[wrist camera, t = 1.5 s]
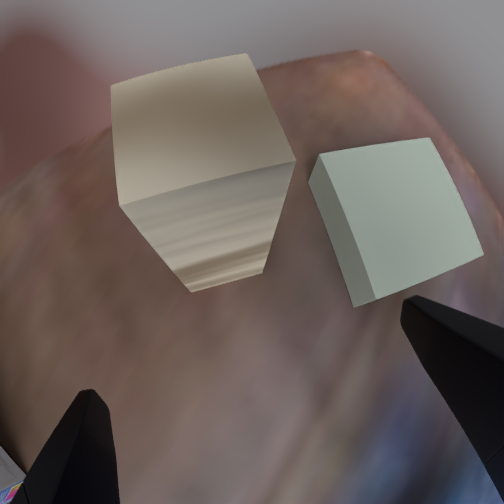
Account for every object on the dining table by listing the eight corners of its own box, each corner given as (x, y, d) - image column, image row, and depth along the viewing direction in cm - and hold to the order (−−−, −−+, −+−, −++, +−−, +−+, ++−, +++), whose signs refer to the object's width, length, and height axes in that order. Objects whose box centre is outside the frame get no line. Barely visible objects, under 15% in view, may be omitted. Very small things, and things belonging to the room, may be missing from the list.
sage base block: (454, 268, 23) (483, 254, 19) (353, 308, 22) (376, 299, 18) (409, 162, 25) (429, 137, 22) (307, 182, 24) (319, 153, 20)
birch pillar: (262, 273, 22) (296, 160, 9) (191, 292, 22) (119, 205, 8) (242, 208, 23) (247, 53, 10) (175, 225, 23) (110, 85, 9)
